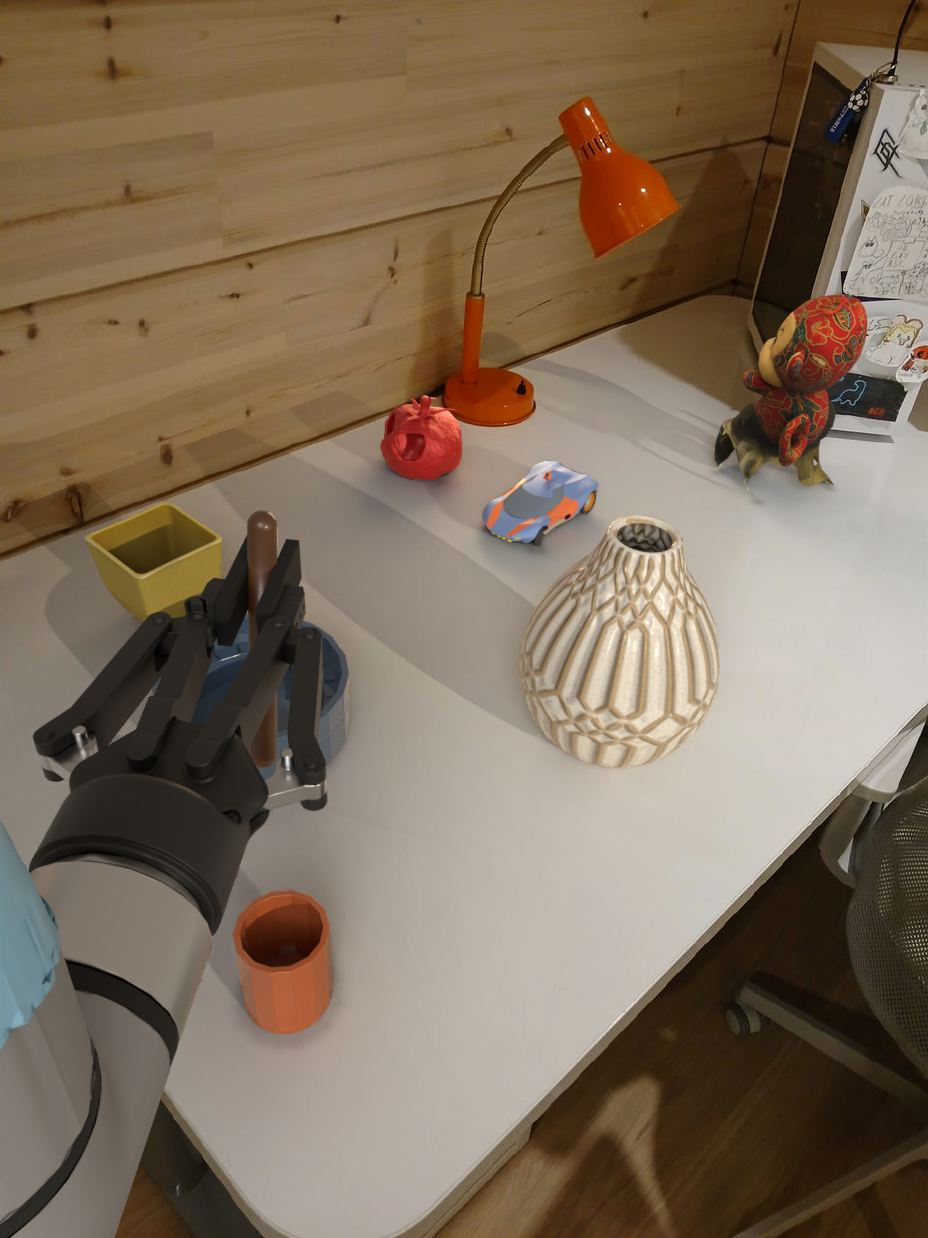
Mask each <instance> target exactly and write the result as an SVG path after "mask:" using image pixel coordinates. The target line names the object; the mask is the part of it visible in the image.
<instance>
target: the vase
mask: <svg viewBox="0 0 928 1238" xmlns="http://www.w3.org/2000/svg"><path fill="white" fill-rule="evenodd" d="M687 565H688V564H687V561H686V554H685V545H684V540H683V537H682V535H681V533H680V532H679V530H678V529H677V528H676V527H675V526H673V525H672V524H671V523H669V522H667V521H665V520H664V519H663V520H662V519H661V518H658V517H655V516H651V515H650V516H649V515H643V514H642V515H641V514H633V515H631V514H630V515H627V516H626V515H625V516H622V517H619V518H617V519H615V520H614V521H613V522H611V523H610V525H609V526H608V527H607V529H606V531H605V533H604V534H603V536H602V537H601V539H600V541H599V543H597V545H596V547H595V548H594V549H593V550H592V551H591V552H589V553H588V554H586V555H585V556H584V557H582V558H581V559H580V560H578V561H576V562H575V563H574V564H573V565H572V566H571V567H569V568H568V569H567V570H566V571H564V573H562V575H560V576H559V577H558V578H557V579H556V580H555V581H554V582H553V583H552V585H550V586H549V588H548V589H547V590H546V592H545V593H544V595H543V596H542V597H541V599H540V601H539V602H538V604H537V606H536V607H535V609H534V611H533V613H532V615H531V617H530V618H529V620H528V622H527V625H526V628H525V630H524V633H523V636H522V640H521V642H520V643H521V644H520V649H519V660H518V661H519V664H518V665H519V667H518V668H519V681H520V687H521V692H522V695H523V698H524V702H525V705H526V706H527V709H528V710H529V713H530V715H531V717H532V718H533V720H534V722H535V723H536V725H537V727H538V728H539V729H540V730H541V732H542V734H543V735H544V736H545V737H546V738H547V739H548V740H549V741H550V742H551V743H553V744H554V745H555V746H556V747H557V748H558V749H561V750H562V751H563V752H565V753H566V754H568V755H570V756H571V757H574V758H575V759H577V760H580V761H581V762H585V763H588V764H591V765H595V766H599V767H604V768H613V769H614V768H616V769H624V768H633V767H640V766H646V765H648V764H652V763H654V762H657V761H659V760H662V759H663V758H665V757H667V756H669V755H670V754H672V753H673V752H675V751H677V750H678V749H679V748H680V747H681V746H682V745H684V744H685V743H686V742H688V740H689V739H690V738H691V737H692V736H693V735H694V734H695V733H696V732H697V731H698V729H699V728H700V727H701V725H702V724H703V722H704V721H705V719H706V717H707V715H708V714H709V711H710V710H711V708H712V706H713V703H714V700H715V697H716V695H717V692H718V688H719V682H720V674H721V655H720V643H719V636H718V632H717V626H716V622H715V620H714V617H713V613H712V612H711V609H710V606H709V605H708V602H707V599H706V598H705V596H704V593H703V592H702V590H701V588H700V586H699V584H698V583H697V581H696V580H695V578H694V577H693V575H692V574H691V572H690V570H689V569H688V566H687Z"/></svg>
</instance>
